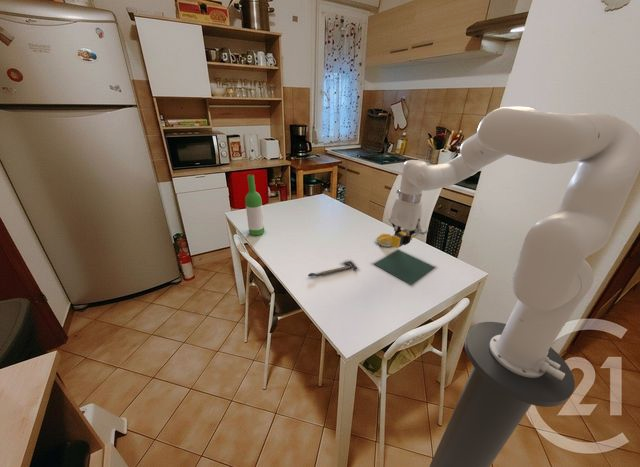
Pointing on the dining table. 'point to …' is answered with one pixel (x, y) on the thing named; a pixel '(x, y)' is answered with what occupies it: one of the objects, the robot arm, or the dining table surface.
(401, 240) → the yellow striped handle
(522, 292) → the robot arm
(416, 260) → the mat
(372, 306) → the dining table surface
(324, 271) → the tomahawk
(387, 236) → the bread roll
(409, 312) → the dining table surface
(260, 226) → the wine bottle
